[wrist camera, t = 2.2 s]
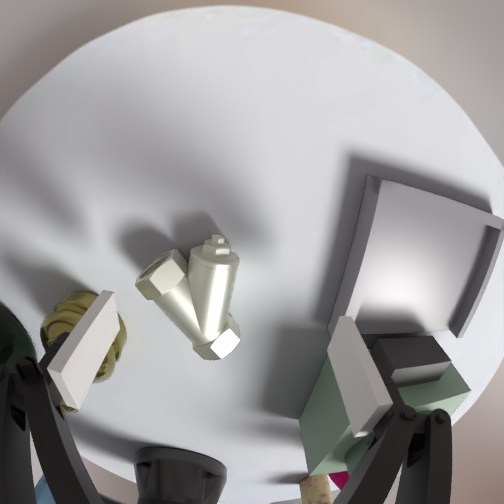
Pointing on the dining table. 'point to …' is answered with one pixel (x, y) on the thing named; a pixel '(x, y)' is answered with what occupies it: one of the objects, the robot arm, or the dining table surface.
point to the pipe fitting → (197, 294)
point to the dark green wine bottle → (13, 341)
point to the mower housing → (408, 384)
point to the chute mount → (416, 262)
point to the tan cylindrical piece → (316, 490)
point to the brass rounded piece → (67, 319)
